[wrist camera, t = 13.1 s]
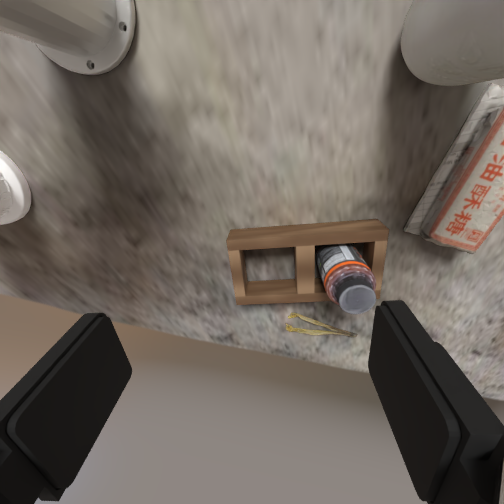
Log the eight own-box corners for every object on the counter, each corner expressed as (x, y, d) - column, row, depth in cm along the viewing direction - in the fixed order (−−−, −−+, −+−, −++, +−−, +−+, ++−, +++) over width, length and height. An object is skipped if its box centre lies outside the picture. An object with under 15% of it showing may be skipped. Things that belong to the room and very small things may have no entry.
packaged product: (489, 263, 33) (417, 242, 32) (464, 247, 37) (400, 228, 37) (614, 106, 25) (520, 75, 24) (564, 108, 29) (483, 82, 29)
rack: (230, 229, 38) (226, 240, 34) (377, 218, 36) (389, 229, 32) (239, 289, 43) (236, 304, 39) (369, 283, 40) (379, 298, 37)
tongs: (355, 337, 47) (358, 345, 45) (283, 324, 47) (283, 332, 45) (362, 319, 45) (366, 327, 43) (288, 306, 45) (288, 313, 43)
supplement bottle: (361, 262, 39) (392, 311, 29) (323, 277, 41) (341, 329, 30) (347, 229, 37) (377, 270, 27) (308, 246, 38) (322, 291, 28)
